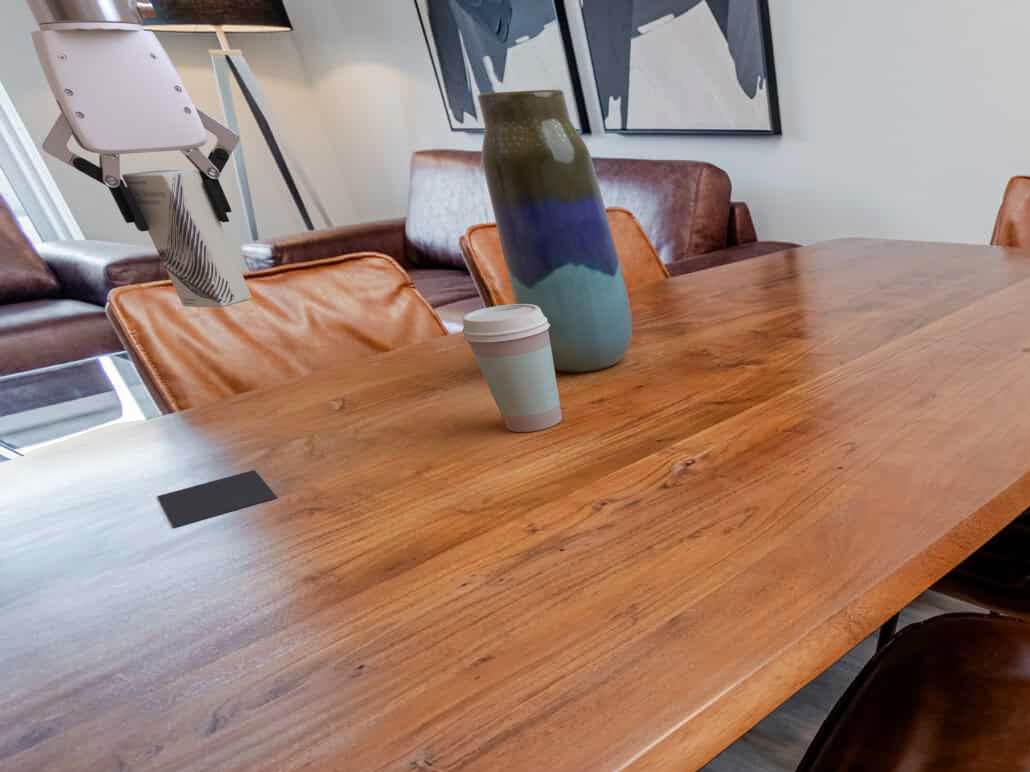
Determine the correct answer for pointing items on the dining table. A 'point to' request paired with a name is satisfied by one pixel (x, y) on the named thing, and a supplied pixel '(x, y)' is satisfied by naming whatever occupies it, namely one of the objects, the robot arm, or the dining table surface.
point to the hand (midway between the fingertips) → (183, 223)
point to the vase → (555, 227)
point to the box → (189, 237)
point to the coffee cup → (516, 363)
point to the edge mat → (215, 498)
